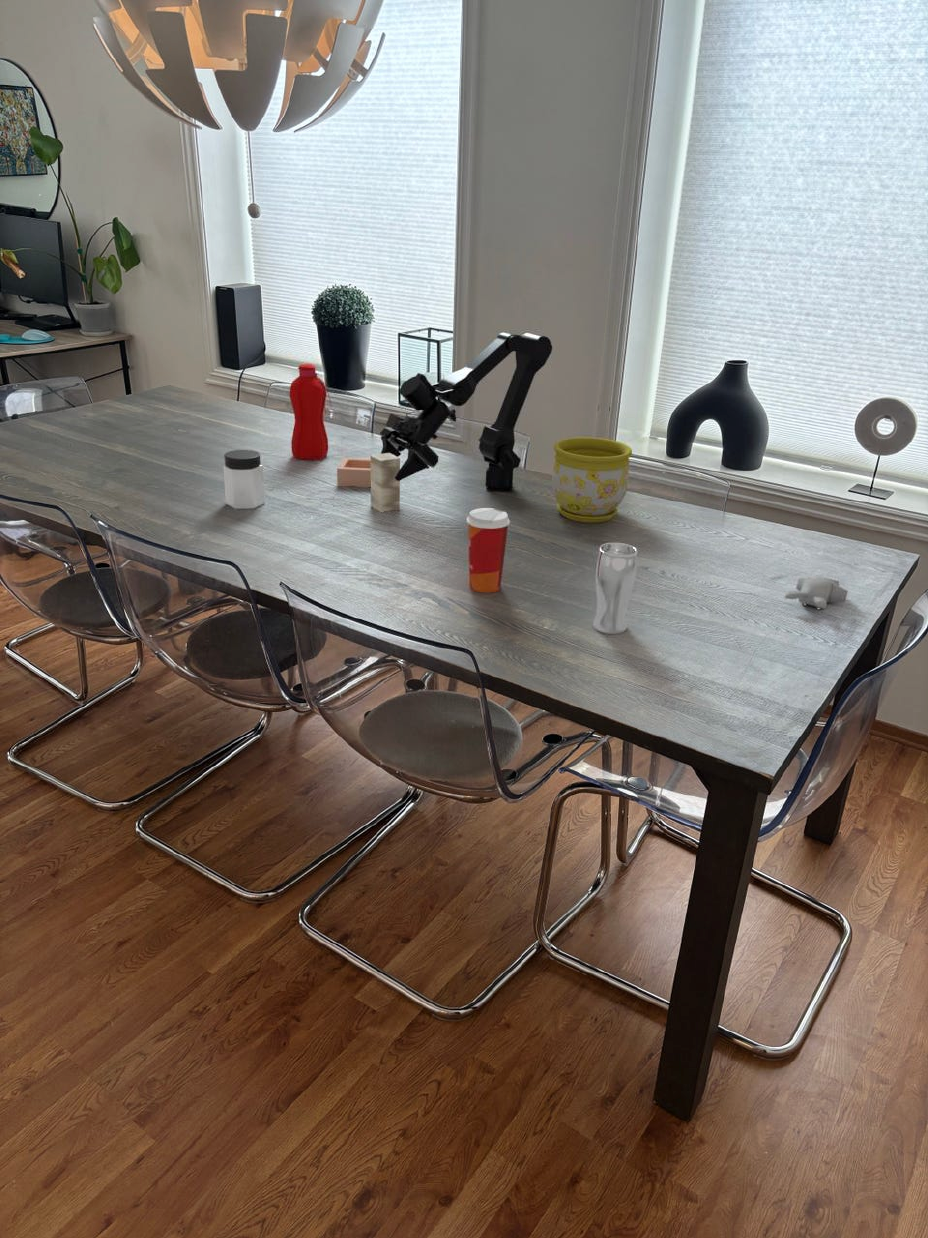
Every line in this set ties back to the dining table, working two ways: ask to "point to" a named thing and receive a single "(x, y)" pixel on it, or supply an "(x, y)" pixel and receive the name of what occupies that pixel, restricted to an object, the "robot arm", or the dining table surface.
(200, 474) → the dining table surface
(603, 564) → the beer glass
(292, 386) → the water bottle
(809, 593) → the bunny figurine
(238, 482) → the jar
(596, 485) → the flowerpot
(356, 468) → the socket
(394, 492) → the birch block
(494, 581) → the coffee cup
